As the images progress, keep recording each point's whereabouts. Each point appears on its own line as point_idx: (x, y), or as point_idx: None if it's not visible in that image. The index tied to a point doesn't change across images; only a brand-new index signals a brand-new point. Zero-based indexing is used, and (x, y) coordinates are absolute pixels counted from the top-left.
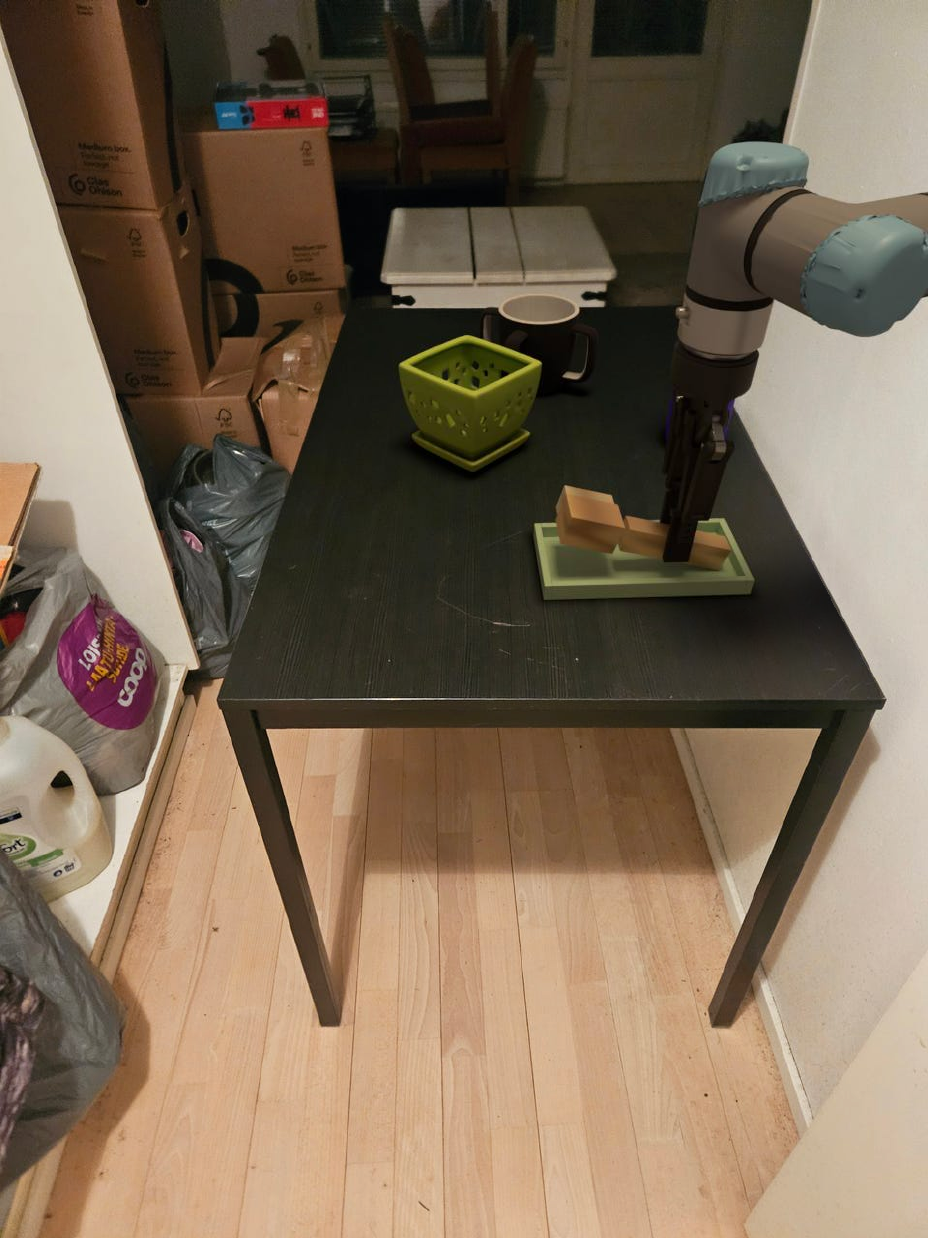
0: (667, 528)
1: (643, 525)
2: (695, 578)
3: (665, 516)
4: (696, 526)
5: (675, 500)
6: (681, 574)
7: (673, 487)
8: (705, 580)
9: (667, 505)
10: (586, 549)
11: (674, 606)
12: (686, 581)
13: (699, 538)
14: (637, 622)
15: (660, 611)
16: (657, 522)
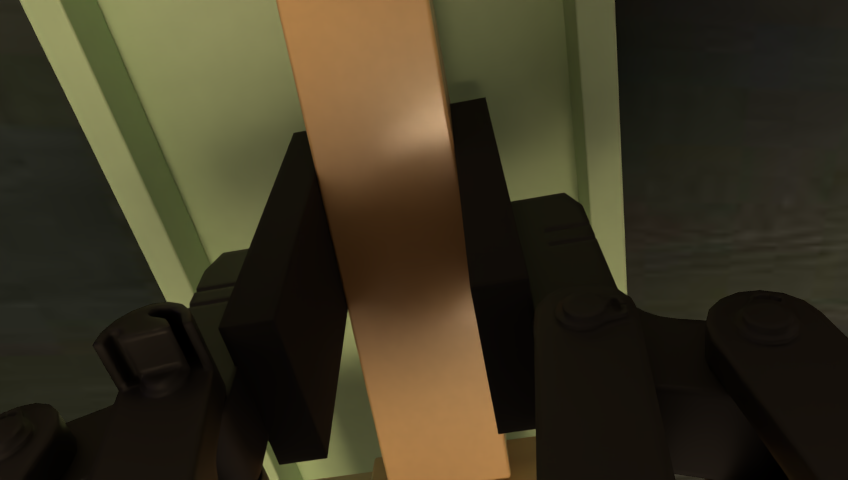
0: (391, 282)
1: (436, 411)
2: (592, 56)
3: (339, 326)
4: (512, 213)
5: (315, 376)
6: (469, 83)
7: (261, 457)
8: (605, 4)
9: (333, 384)
10: (359, 410)
11: (665, 109)
12: (614, 101)
13: (388, 84)
14: (751, 243)
15: (694, 164)
16: (361, 336)
